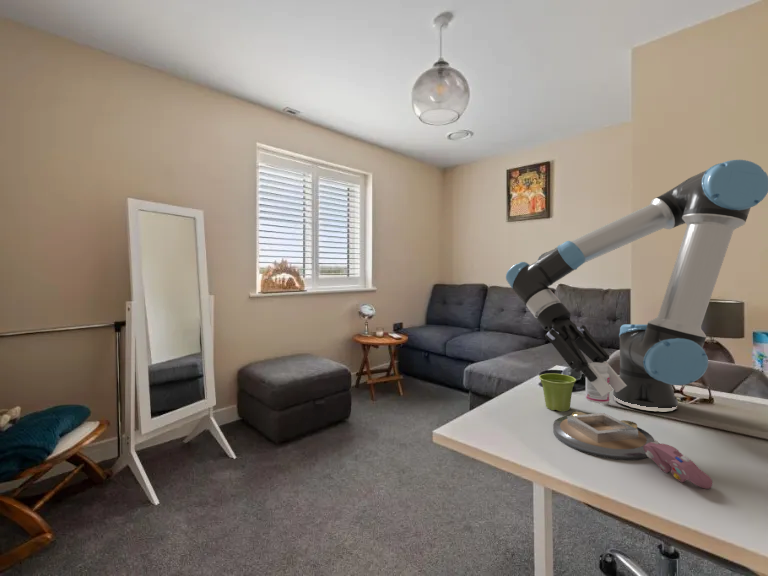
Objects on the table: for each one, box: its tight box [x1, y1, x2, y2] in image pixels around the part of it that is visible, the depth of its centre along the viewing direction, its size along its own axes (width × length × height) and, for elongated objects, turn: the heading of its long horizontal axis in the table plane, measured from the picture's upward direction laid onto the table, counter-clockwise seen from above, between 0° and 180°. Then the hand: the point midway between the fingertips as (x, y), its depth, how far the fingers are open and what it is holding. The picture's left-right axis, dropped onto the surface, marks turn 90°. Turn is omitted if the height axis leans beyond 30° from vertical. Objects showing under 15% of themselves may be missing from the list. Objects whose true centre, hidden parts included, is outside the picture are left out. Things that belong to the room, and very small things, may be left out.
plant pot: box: [538, 373, 577, 412], centre depth 102 cm, size 9×9×9 cm
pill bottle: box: [584, 361, 610, 404], centre depth 83 cm, size 5×5×8 cm
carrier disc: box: [552, 411, 656, 461], centre depth 83 cm, size 20×20×4 cm
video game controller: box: [643, 439, 713, 490], centre depth 67 cm, size 10×5×7 cm, turn 6°
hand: (614, 390), depth 79 cm, fingers closed on pill bottle, 5 cm apart
